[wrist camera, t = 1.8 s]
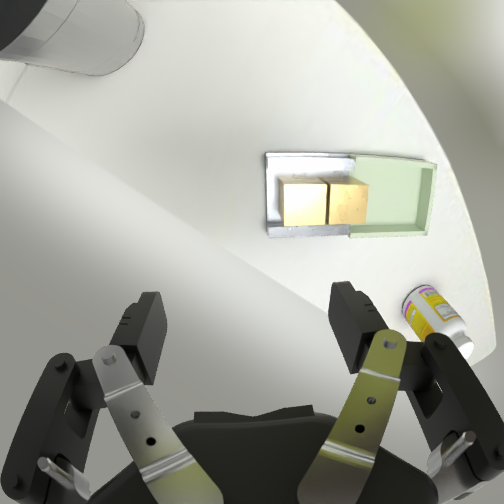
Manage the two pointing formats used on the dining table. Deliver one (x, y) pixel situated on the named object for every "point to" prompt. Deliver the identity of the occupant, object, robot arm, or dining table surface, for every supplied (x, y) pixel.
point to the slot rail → (302, 167)
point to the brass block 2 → (345, 200)
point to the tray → (395, 195)
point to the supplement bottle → (436, 318)
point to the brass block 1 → (302, 201)
